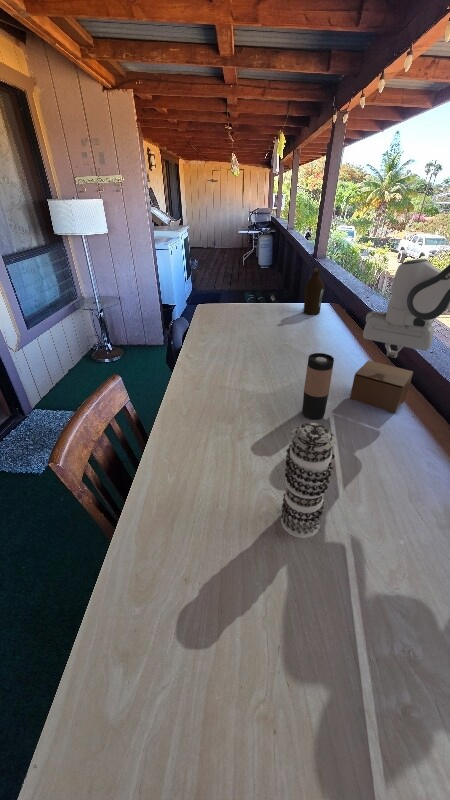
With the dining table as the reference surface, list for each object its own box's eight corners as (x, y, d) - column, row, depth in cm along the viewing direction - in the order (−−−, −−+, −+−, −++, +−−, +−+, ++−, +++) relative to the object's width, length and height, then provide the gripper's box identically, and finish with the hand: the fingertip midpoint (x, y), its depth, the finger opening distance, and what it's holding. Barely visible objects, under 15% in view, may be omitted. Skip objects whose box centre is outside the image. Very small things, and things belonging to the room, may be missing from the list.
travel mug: (311, 405, 119) (318, 350, 109) (329, 414, 114) (339, 358, 104) (296, 413, 115) (302, 357, 105) (315, 423, 110) (324, 365, 100)
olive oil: (301, 314, 205) (306, 270, 193) (303, 309, 214) (307, 266, 201) (320, 316, 203) (326, 271, 190) (320, 310, 212) (326, 267, 199)
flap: (361, 367, 120) (361, 366, 119) (368, 361, 124) (368, 360, 124) (408, 379, 112) (408, 378, 112) (413, 372, 116) (413, 371, 116)
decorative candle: (284, 501, 83) (294, 412, 70) (324, 512, 80) (342, 422, 67) (274, 531, 75) (283, 438, 62) (317, 545, 72) (336, 450, 59)
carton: (348, 402, 121) (354, 373, 115) (361, 387, 130) (368, 360, 124) (394, 416, 113) (403, 386, 107) (404, 400, 122) (413, 371, 116)
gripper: (364, 312, 111) (356, 352, 118) (435, 323, 100) (422, 367, 107) (370, 307, 116) (363, 346, 123) (439, 318, 105) (427, 360, 112)
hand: (391, 356), depth 115 cm, fingers closed
